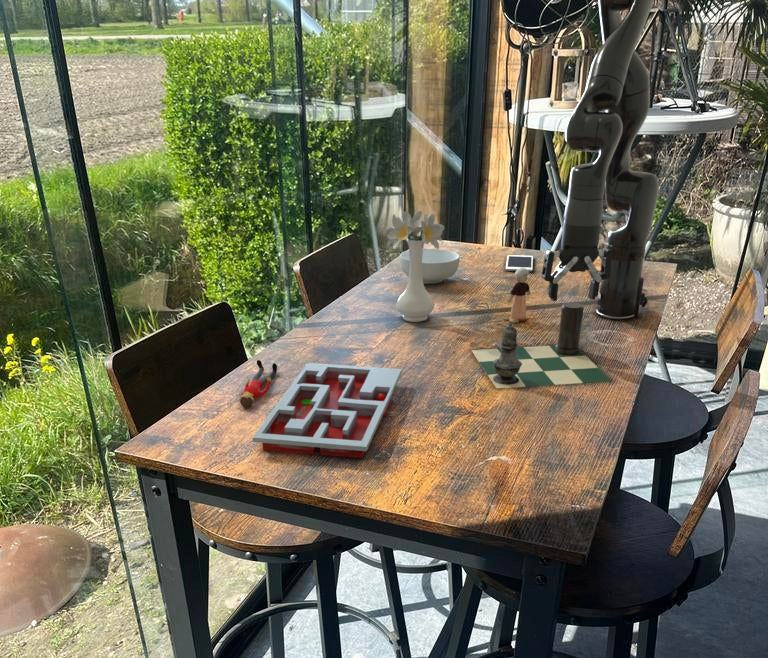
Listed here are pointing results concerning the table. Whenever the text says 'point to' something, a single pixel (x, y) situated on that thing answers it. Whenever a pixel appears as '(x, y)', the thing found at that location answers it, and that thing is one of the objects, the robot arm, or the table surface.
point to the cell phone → (519, 262)
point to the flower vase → (415, 261)
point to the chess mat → (543, 367)
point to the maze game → (330, 410)
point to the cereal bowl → (433, 264)
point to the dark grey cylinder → (570, 329)
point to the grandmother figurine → (519, 296)
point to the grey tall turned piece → (507, 358)
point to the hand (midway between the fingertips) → (572, 299)
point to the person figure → (256, 386)
